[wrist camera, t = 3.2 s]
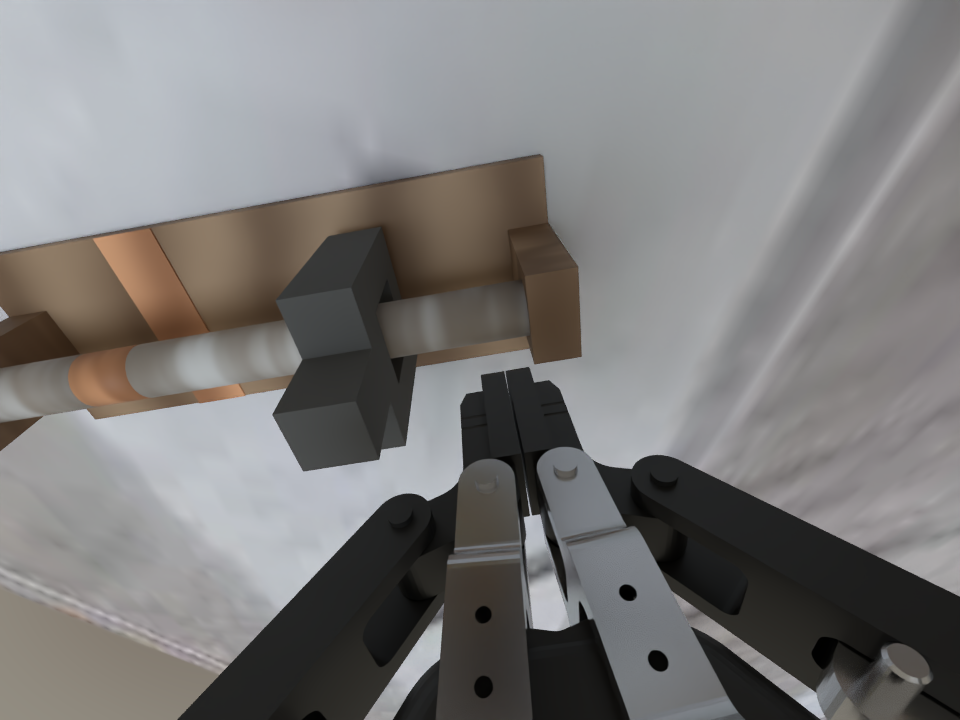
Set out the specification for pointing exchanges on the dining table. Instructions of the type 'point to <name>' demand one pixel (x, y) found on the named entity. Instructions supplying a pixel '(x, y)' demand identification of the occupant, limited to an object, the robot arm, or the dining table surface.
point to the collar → (344, 356)
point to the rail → (263, 277)
